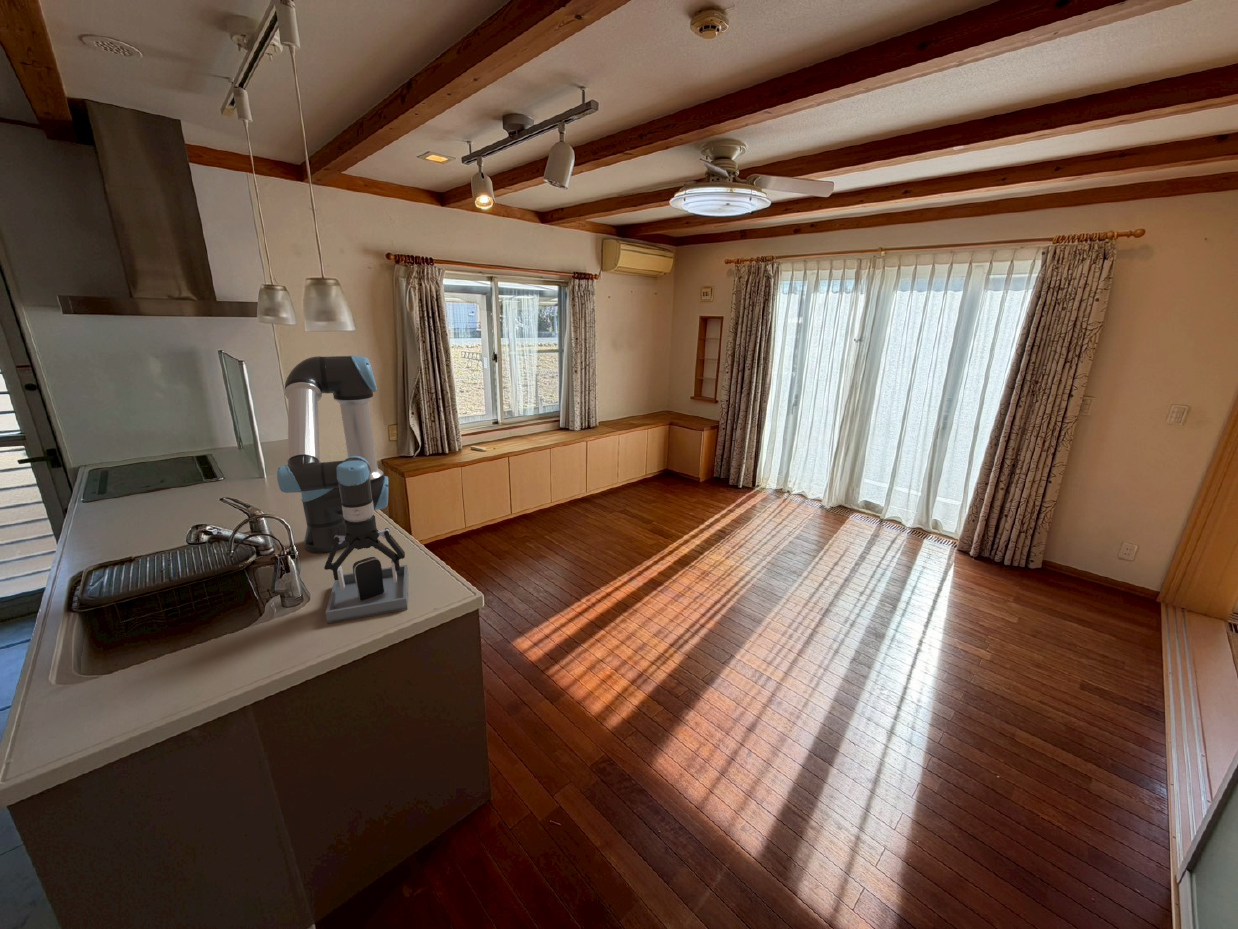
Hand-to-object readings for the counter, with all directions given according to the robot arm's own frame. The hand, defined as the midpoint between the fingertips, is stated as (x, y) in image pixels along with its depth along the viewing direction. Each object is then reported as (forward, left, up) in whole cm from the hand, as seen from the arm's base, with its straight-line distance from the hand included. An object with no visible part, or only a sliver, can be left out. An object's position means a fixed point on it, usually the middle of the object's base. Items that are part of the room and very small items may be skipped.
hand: (369, 584), depth 139 cm
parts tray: (0, 0, -4) cm, 4 cm away
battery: (0, 0, -4) cm, 4 cm away
